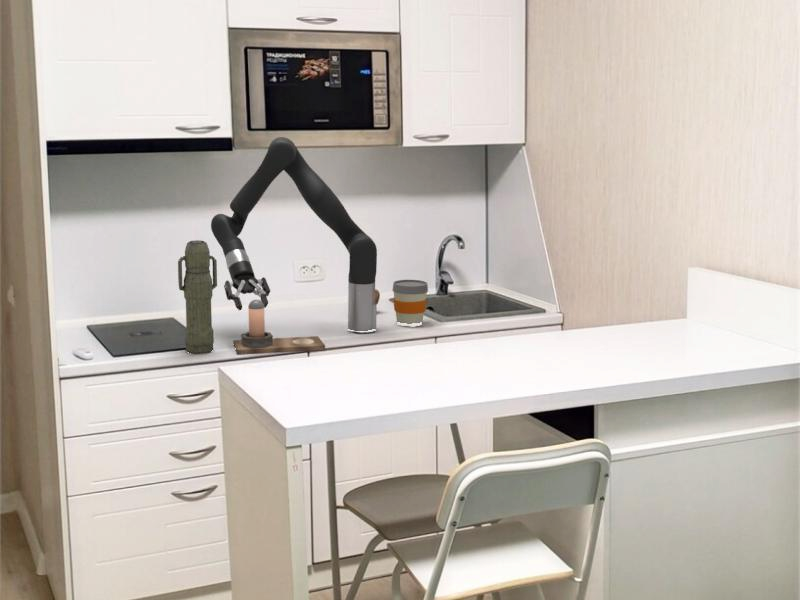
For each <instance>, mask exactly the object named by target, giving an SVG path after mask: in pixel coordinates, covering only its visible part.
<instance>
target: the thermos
mask: <svg viewBox="0 0 800 600" xmlns="http://www.w3.org/2000/svg"><path fill="white" fill-rule="evenodd" d="M210 253H211V252H210V248H209V245H208V243H207V242H206V241H204V240H199V239H198V240H197V239H196V240H190V241H189V242H187V243H186V245H185V249H184V255H183V256H180V258H178V261H177V276H178V277H177V278H178V279H177V280H178V289H179V290H180V291H182V292H183V298H184V300H185V316H186V317H185V322H186V323H185V324H186V325H185V329H184V343H185V352H186V351H187V352H189V353H188V354H190V353H191V355H206V354H211V353H212V352H211V351H212V350H213V351H214V343H215V341H214V339H215V337H214V335H215V334H214V329H213V328H214V327H213V326H212V325H213V324H212V323H213V322H212V321H213V320H212V298H213V296H214V295H213V290H214V289H215V288H217V287H218V271H217V270H218V269H217V268H218V267H217V262H218V261H217V259H216V258H215V257H214V256H213V255H210ZM210 260H211V261H212V276H211V269H210V267H211V266H210V265H211V264H210V263H211V261H210ZM183 261H184V267H185V274H184V277H183ZM187 352H186V353H187Z"/></svg>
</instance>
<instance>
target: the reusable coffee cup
mask: <svg viewBox="0 0 800 600" xmlns="http://www.w3.org/2000/svg"><path fill="white" fill-rule="evenodd" d="M392 292H393V298H392V301H393V308H394V309H393V310H394V312H395V317H396V323H397V322H400V323H407V324H412V323H420V322H422V321H423V320H424V314H425V312H426V309H427V301H428V299H427V293H428V292H429V287H428V282H427V281H424V280H420V279H419V280H418V279H398V280H396V281H393V285H392ZM423 322H424V321H423ZM423 322H422V323H423Z"/></svg>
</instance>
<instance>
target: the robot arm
mask: <svg viewBox="0 0 800 600" xmlns="http://www.w3.org/2000/svg"><path fill="white" fill-rule="evenodd" d="M283 171H284V172H285V173H286V174H287V175H288V176H289V178H291V180H292V181H293V183H294V184H295V186H296V188H297V189H298V191H299V193H300V195H301V196H302V198H303V200H304V201H305V203H306V204H307V205H308V207H309V209H311V211H312V212H313V213H314V214H315V215H316V216H317V217H318V218H319V219H320V220H321V221H322V223H324V224H325V225H326V226H327V227H328V228H330V230H332V231H333V232H334V233H335V235H336V236H337V237H338V238H339V240H340V241H341V243H342V244H343V245H344V246H345V248H346V250H347V252H348V254H349V269H348V270H349V271H348V282H347V283H348V287H347V288H348V292H347V294H348V298H347V299H348V302H347V305H348V307H347V308H348V309H347V330H348V329H350V330H354V331H368V330H372V329H376V330H377V311H378V310H377V306H378V305H376V304H375V289H376V277H377V276H376V275H377V265H378V258H377V257H378V249H377V244H376V242H374V239H373V238H371V237H370V236H369V235H368V234H367V233H365V231H363V230H362V229H361V228H360V227H359V225H358V224H357V223H356V222H355V221H354V220H353V218H352V217H351V216H350V215H349V213H348V210H347V209H346V208H345V206H344V204H343V203H342V202H341V201H340V199H339V197H338V196H337V195H336V194H335V193H334V192H333V190H332V189H331V187H330V186H328V184H326V182H325V181H324V180H323V179H322V178H321V176H319V175H318V174H317V172H315V171H314V169H312V168H311V165H309V163H308V162H307V161H306V160H305V158H304V157H303V155H302V154H301V152H300V150H298V147H297V146H296V145H295V143H294V142H293V140H291V139H290V138H287V137H284V136H282V137H281V136H279V137H276V138H274V139H273V140H271V142H270V143H269V145H268V148H267V152H266V154H265V156H264V157H263V160H262V162H261V164H259V167H258V168H257V170H255V172H254V174H253V175H252V176H251V177H250V178H249V179H248V180H247V181H246V183H244V185H243V186H242V187H241V188H240V190H239V191H238V192H237V194H236V195H235V196H234V197H233V199H232V201H231V202H230V204H229V209H230V210H231V211H232V212H233V214H232V216H230V215H226V214H224V213H218V214H216V215H214V216H213V217H212V219H211V220H210V221H211V223H210V229H211V232H212V234H213V236H214V238H215V239H216V241H217V243H218V244H219V246H220V247H221V249H222V251H223V255H224V258H225V263H226V267H227V270H228V272H229V275H230V278H231V281H229V280H226V281H225V283H224V285H223V288H224V291H225V296H226V298H227V299H226V300H227V301H231V300H232V301H233V302H234V305H235V308H236V309H237V310H238V311H242V309H243V304H242V301H241V298H240V294H242V295H245V294H252V293H253V295H255V296H258V297H260V301H261V302H262V303H263V304H264V309H265V308H267V306H268V304H269V300H268V296H270V293H271V288H270V285H269V284H268V281H267V279H266V277H261V278H259V279H257V278H256V276H255V273H254V270H253V266H252V264H251V261H250V258H249V255H248V254H247V252H246V249H245V246H244V243H243V241H242V239H241V238H240V237H238V236H240V234H242V231H243V229H244V227H245V224H246V222H247V219H248V216H249V214H250V213H251V212H252V211H253V209H254V208H255V206H256V205H257V204H258V203H259V201H260V200H261V198H262V197H263V195H264V194H265V192H266V191H267V190H268V188H269V187H270V185H271V184H272V183H273V182H274V180H275V179H276V178H277V177H278V176H279V175H280V174H281V173H282V172H283ZM232 287H233V288H234V289H235V290H236V291H235V293H233V291H232Z"/></svg>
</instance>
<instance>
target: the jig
mask: <svg viewBox="0 0 800 600" xmlns="http://www.w3.org/2000/svg"><path fill="white" fill-rule="evenodd" d="M240 336H241V339H233V342H232V345H233V344H234V345H233V347H234V346H235V348H236V350H235V353H236V355H253V354H255V355H257V354H273V353H274V354H275V353H276V354H277V353H291V352H293V353H295V352H309V351H310V352H312V351H326V345H325V343H324V342H323V340H322V339H321V338H320V337H319V336H318V335H315V336H313V335H312V336H295V337H292V336H291V337H277V338H275V337H273V334H272V333H271V332H270V331H269V332H268V331H265V337H261V338H252V337H249V331H247V332H244V333H241V335H240ZM235 348H234V349H235Z"/></svg>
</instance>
